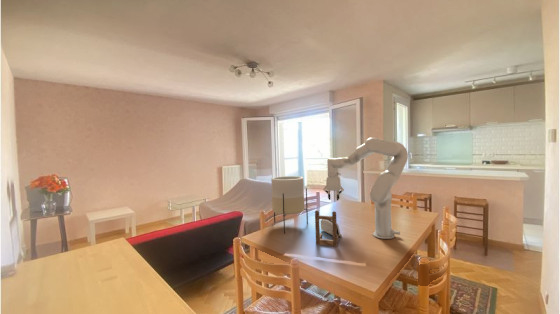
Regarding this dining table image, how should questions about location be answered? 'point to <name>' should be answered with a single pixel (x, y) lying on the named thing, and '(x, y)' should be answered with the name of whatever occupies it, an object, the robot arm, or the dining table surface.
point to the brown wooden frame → (319, 235)
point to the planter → (288, 196)
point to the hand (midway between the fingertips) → (333, 199)
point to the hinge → (329, 227)
